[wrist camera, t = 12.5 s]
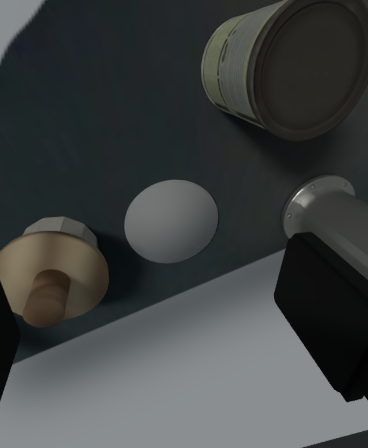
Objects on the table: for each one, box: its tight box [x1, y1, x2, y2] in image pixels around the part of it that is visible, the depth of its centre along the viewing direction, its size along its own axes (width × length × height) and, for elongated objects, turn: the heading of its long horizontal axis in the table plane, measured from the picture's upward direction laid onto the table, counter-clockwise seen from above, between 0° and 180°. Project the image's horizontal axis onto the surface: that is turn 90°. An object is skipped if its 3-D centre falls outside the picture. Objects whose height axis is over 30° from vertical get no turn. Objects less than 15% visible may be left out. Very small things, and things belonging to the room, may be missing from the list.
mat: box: [125, 180, 218, 263], centre depth 41 cm, size 14×14×1 cm
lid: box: [0, 231, 109, 328], centre depth 32 cm, size 13×13×6 cm
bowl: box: [23, 217, 98, 249], centre depth 37 cm, size 10×10×6 cm
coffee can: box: [201, 0, 368, 141], centre depth 27 cm, size 10×10×14 cm
